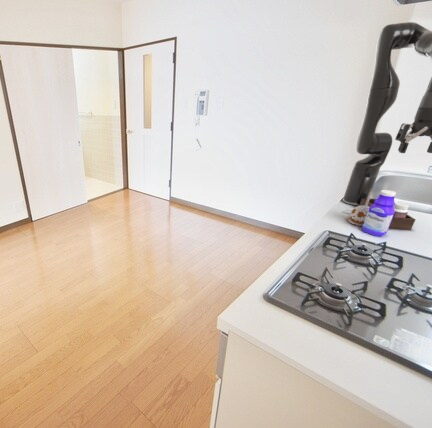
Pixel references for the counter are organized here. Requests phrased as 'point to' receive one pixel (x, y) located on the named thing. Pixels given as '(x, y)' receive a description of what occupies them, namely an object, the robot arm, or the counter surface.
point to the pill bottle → (400, 210)
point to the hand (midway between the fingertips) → (415, 152)
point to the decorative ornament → (360, 212)
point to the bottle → (380, 214)
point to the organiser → (396, 222)
